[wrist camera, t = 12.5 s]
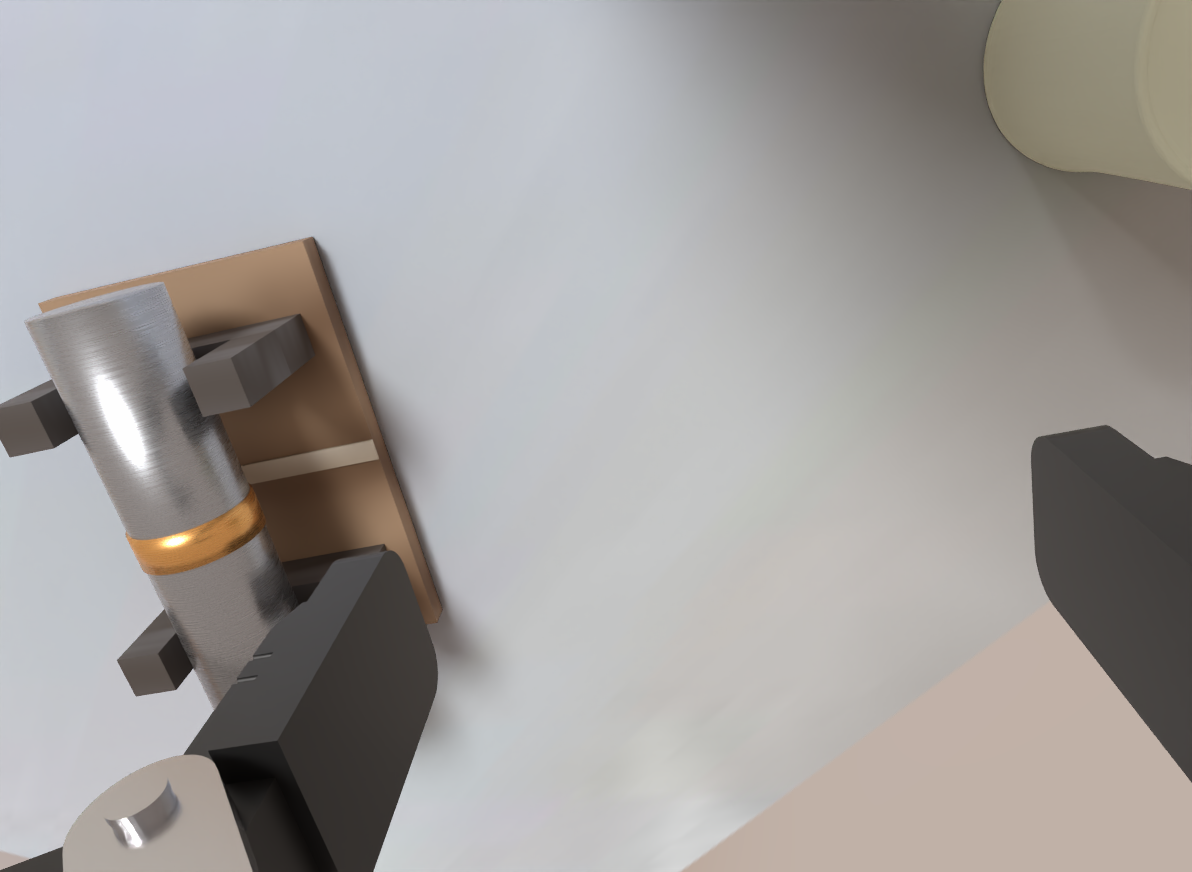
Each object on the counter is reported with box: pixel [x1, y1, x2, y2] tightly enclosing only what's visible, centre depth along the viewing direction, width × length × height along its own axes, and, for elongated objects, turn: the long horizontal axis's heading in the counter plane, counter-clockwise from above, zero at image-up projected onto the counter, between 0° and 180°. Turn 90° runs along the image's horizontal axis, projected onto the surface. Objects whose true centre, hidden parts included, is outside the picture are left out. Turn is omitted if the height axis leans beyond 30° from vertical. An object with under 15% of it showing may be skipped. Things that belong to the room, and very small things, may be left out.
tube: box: [24, 282, 299, 710], centre depth 36 cm, size 20×5×5 cm, turn 13°
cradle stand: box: [0, 237, 442, 696], centre depth 39 cm, size 20×13×8 cm, turn 13°
